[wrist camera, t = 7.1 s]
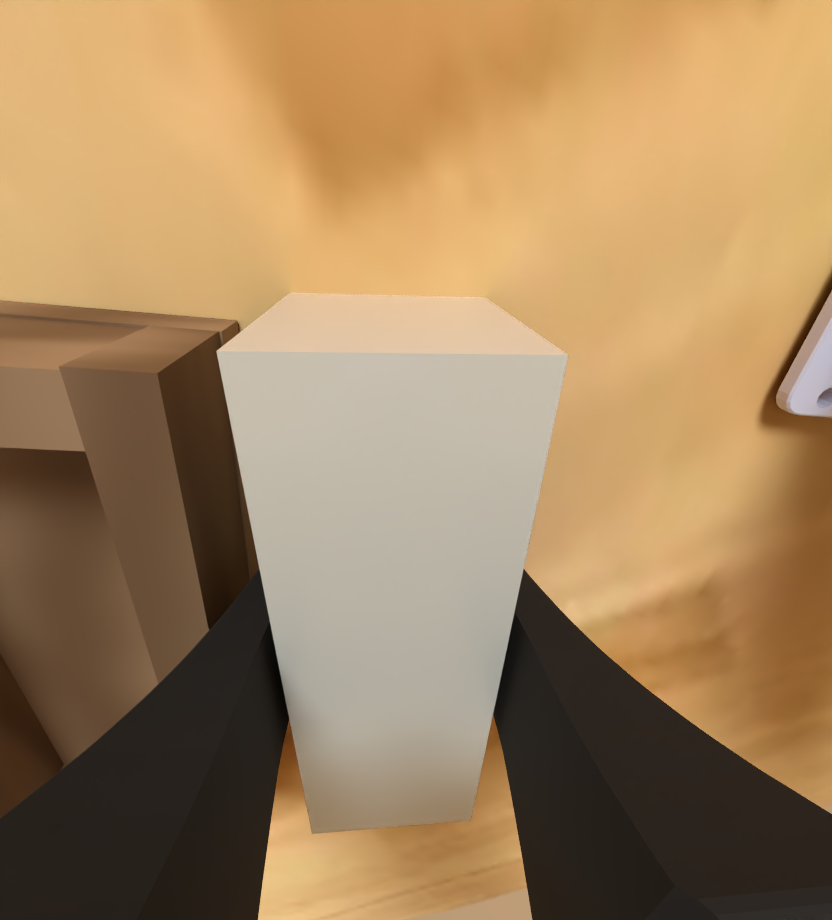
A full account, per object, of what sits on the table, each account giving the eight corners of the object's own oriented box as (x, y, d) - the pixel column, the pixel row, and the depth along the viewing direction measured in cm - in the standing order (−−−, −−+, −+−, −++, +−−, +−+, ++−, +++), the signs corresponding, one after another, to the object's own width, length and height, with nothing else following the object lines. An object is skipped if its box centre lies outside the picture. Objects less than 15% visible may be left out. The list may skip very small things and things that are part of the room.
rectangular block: (484, 296, 9) (568, 355, 5) (446, 661, 15) (470, 820, 11) (290, 292, 9) (215, 350, 5) (329, 667, 14) (312, 833, 10)
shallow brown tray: (237, 320, 9) (161, 373, 6) (280, 746, 16) (257, 865, 13) (-219, 282, 8) (-607, 320, 5) (54, 752, 15) (-25, 883, 12)
